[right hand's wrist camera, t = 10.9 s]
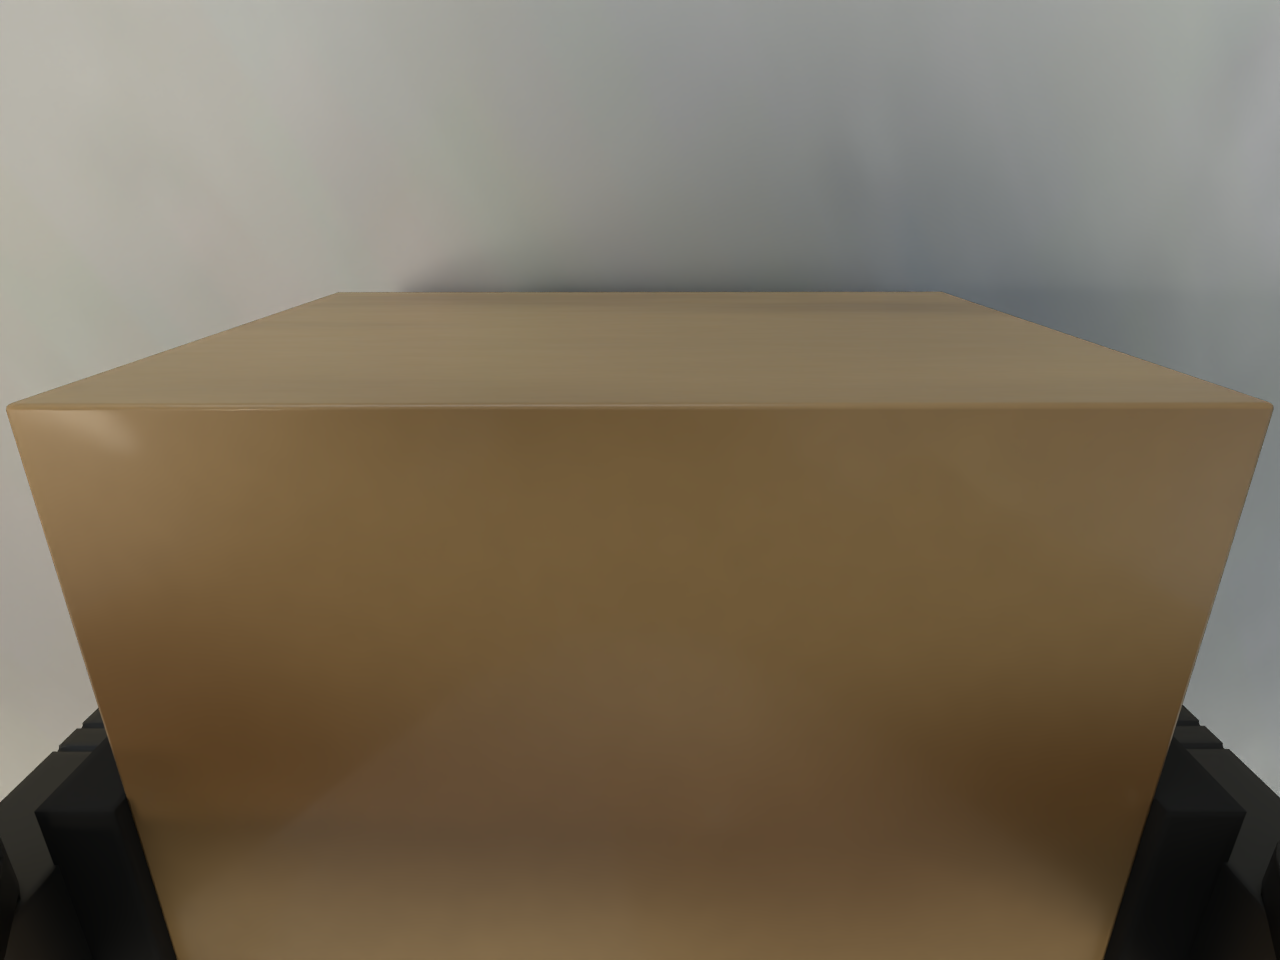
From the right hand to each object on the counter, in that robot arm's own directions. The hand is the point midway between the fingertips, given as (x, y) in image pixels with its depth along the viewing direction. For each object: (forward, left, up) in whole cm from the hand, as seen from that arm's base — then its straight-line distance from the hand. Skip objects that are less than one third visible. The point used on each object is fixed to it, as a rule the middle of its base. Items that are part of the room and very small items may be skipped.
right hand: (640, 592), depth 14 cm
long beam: (+4, -36, -1) cm, 36 cm away
